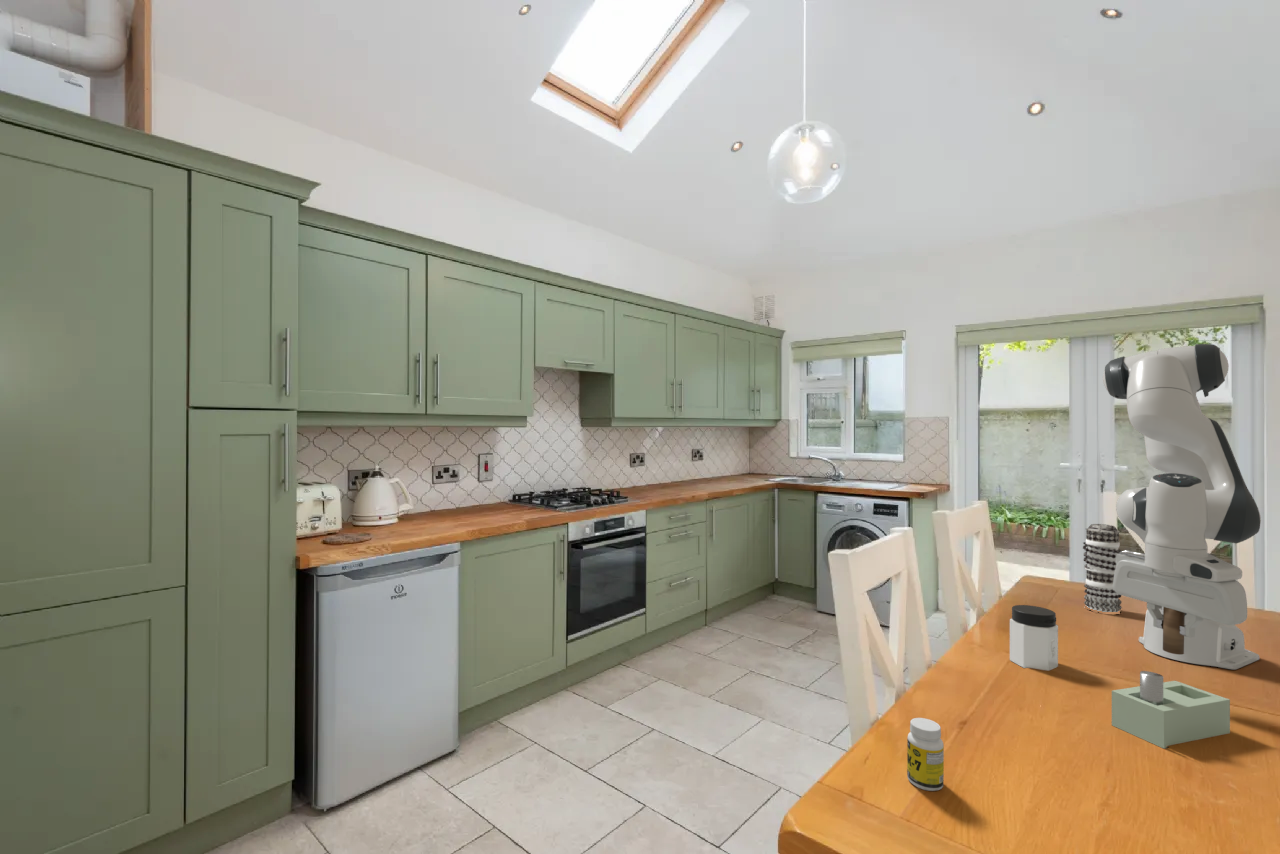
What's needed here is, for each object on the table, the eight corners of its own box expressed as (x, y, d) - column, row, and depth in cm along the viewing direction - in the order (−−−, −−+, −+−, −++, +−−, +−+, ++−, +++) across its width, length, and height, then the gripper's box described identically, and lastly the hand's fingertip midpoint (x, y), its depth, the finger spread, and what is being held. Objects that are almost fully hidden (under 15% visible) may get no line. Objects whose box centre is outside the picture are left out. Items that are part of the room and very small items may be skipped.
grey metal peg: (1147, 728, 102) (1147, 670, 102) (1167, 736, 99) (1167, 677, 99) (1135, 730, 101) (1135, 672, 101) (1155, 739, 98) (1155, 679, 98)
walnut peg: (1169, 647, 114) (1170, 596, 114) (1187, 653, 111) (1188, 601, 111) (1158, 649, 113) (1159, 597, 113) (1176, 655, 110) (1178, 602, 110)
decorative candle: (1074, 607, 175) (1074, 523, 175) (1099, 605, 177) (1099, 522, 178) (1105, 616, 166) (1105, 527, 167) (1131, 614, 168) (1130, 527, 169)
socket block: (1175, 713, 107) (1175, 680, 107) (1230, 735, 100) (1229, 699, 100) (1111, 725, 103) (1111, 690, 103) (1163, 748, 95) (1163, 711, 95)
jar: (1045, 675, 124) (1045, 618, 124) (1004, 662, 131) (1004, 608, 131) (1063, 666, 129) (1063, 611, 129) (1023, 654, 136) (1023, 602, 136)
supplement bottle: (900, 773, 87) (901, 716, 87) (931, 772, 88) (931, 715, 88) (918, 793, 82) (918, 732, 83) (950, 791, 83) (950, 731, 83)
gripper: (1105, 548, 121) (1104, 615, 121) (1230, 575, 101) (1228, 654, 102) (1127, 546, 123) (1126, 612, 123) (1254, 572, 103) (1252, 650, 103)
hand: (1173, 631), depth 112 cm, fingers closed on walnut peg, 3 cm apart
